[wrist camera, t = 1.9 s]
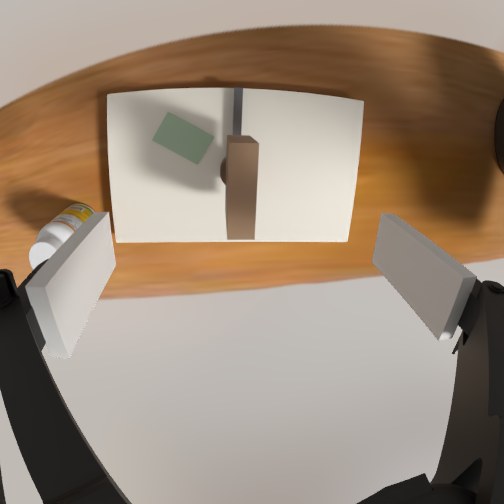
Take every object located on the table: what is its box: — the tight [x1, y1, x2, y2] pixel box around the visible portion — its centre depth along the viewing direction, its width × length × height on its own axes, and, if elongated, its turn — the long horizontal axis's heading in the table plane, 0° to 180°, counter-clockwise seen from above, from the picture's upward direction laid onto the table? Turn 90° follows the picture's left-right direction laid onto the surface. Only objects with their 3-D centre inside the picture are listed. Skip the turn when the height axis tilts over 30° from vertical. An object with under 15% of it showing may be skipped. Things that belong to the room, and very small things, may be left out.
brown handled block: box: [220, 87, 259, 240], centre depth 25 cm, size 12×3×10 cm, turn 178°
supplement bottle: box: [29, 204, 95, 270], centre depth 29 cm, size 5×5×10 cm
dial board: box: [107, 88, 364, 243], centre depth 32 cm, size 26×16×2 cm, turn 88°
